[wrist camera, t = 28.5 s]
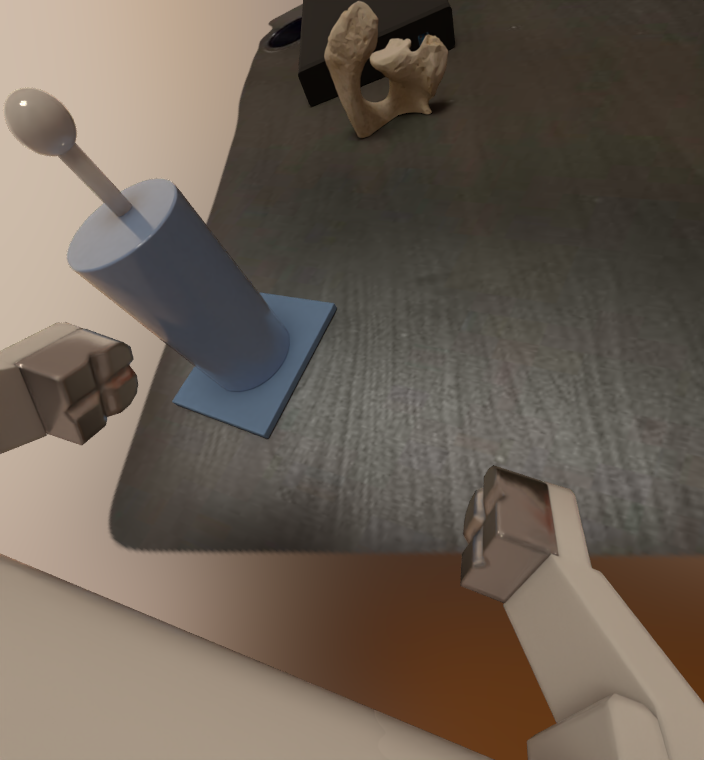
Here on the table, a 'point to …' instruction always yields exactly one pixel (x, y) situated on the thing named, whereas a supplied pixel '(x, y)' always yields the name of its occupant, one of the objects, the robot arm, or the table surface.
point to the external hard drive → (395, 20)
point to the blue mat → (270, 398)
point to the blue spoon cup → (159, 259)
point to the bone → (381, 69)
